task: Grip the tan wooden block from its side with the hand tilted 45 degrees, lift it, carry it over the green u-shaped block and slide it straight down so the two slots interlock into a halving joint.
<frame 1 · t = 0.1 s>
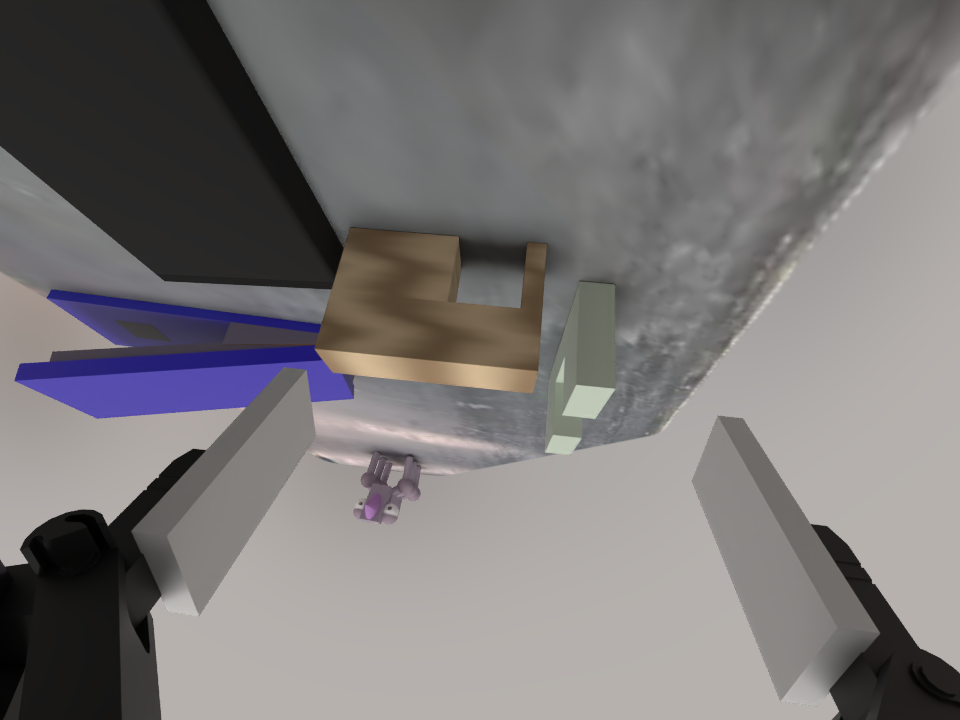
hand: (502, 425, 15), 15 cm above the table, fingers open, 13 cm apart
toy sheep: (393, 453, 94), on the table
blue foot pedal: (223, 328, 49), on the table
green u-shaped block: (575, 340, 41), on the table
tan wooden block: (456, 253, 32), on the table
external hard drive: (152, 113, 25), on the table
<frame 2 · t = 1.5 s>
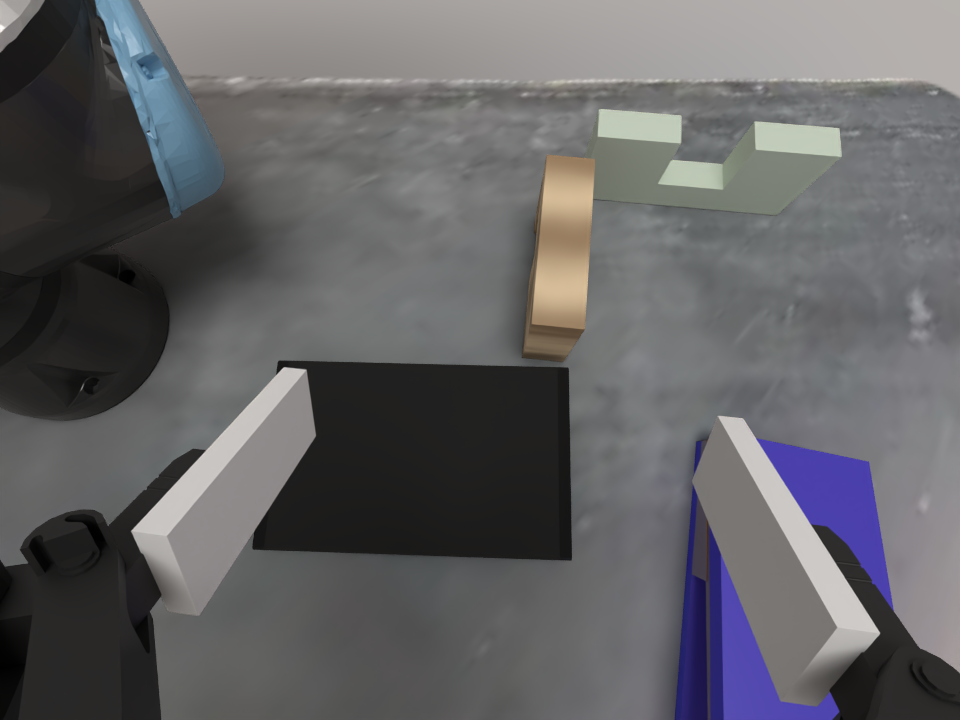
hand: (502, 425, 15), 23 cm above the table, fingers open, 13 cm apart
blue foot pedal: (748, 634, 35), on the table
green u-shaped block: (676, 194, 43), on the table
tan wooden block: (549, 283, 41), on the table
external hard drive: (422, 456, 38), on the table
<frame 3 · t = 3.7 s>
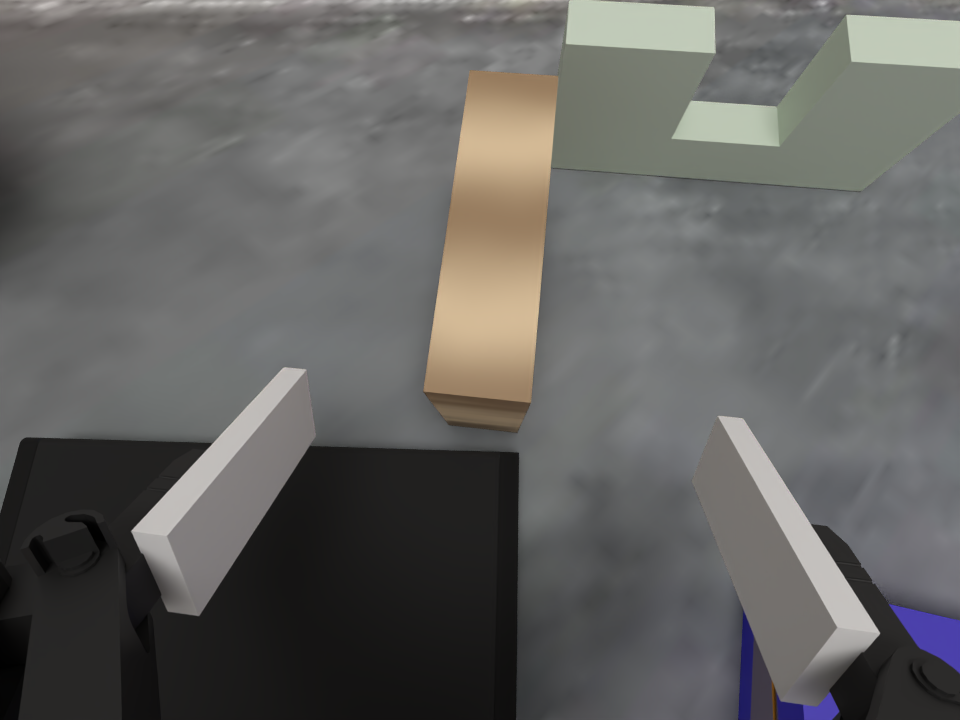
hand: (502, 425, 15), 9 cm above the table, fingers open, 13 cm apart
green u-shaped block: (700, 160, 27), on the table
tan wooden block: (496, 301, 25), on the table
external hard drive: (275, 598, 23), on the table
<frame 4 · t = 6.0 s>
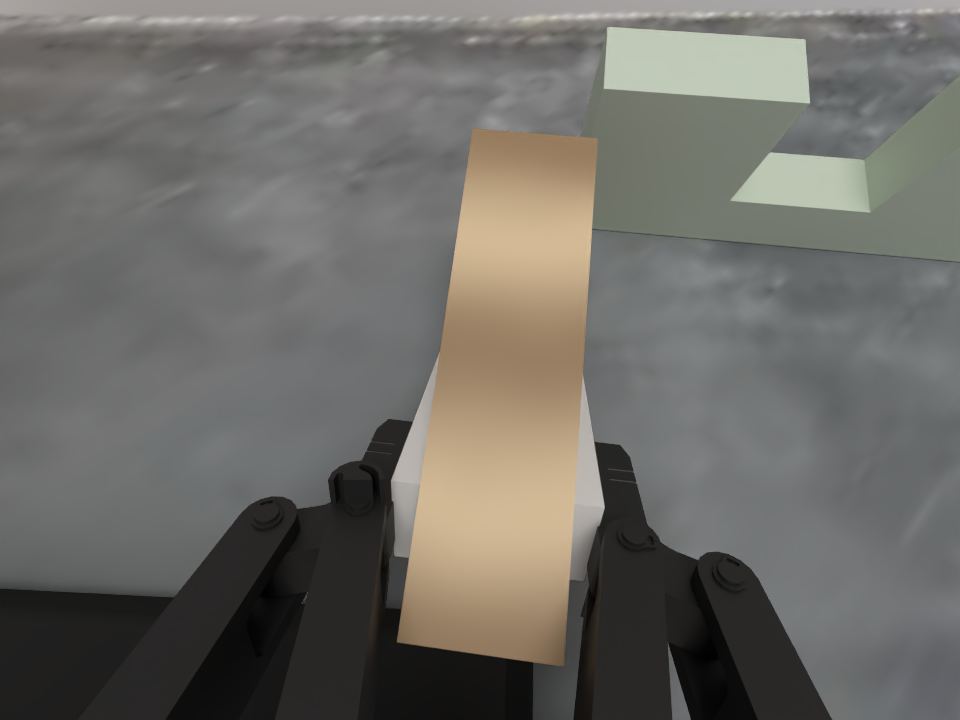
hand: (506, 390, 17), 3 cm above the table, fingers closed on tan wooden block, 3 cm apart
green u-shaped block: (758, 220, 22), on the table
tan wooden block: (505, 401, 20), on the table, touching gripper
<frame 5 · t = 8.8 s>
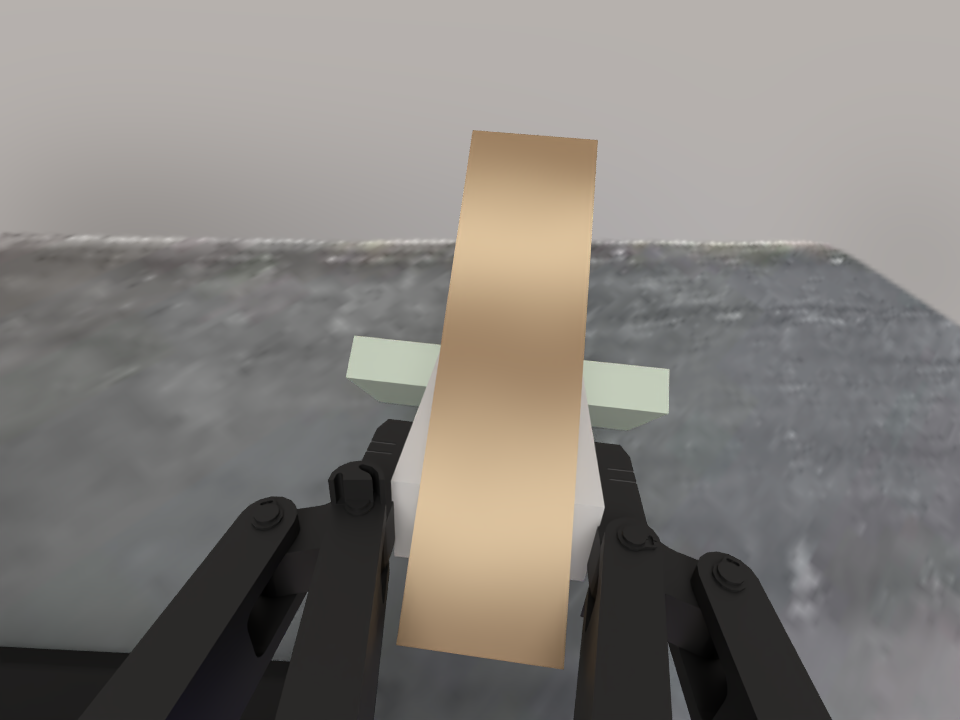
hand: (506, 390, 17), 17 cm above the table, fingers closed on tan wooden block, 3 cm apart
green u-shaped block: (503, 399, 34), on the table
tan wooden block: (505, 402, 20), point 14 cm above the table, touching gripper
when the fingers open (5 cm above the table, at t = 11.5 s): tan wooden block drops 2 cm, on the table.
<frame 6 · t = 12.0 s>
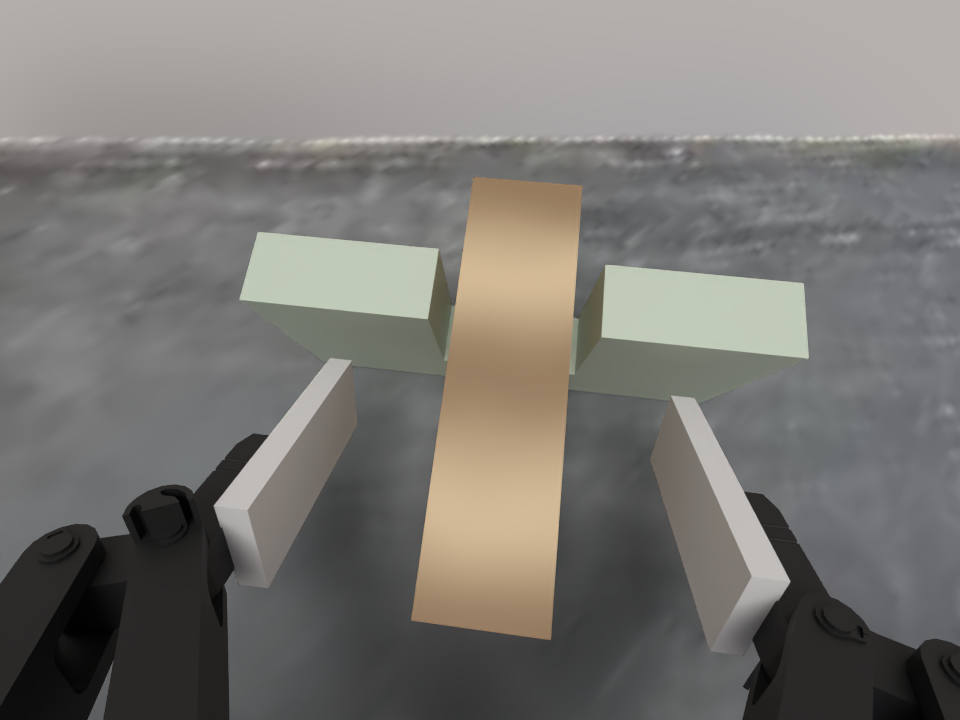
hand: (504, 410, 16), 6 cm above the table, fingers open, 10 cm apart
green u-shaped block: (509, 358, 23), on the table
tan wooden block: (503, 410, 22), on the table
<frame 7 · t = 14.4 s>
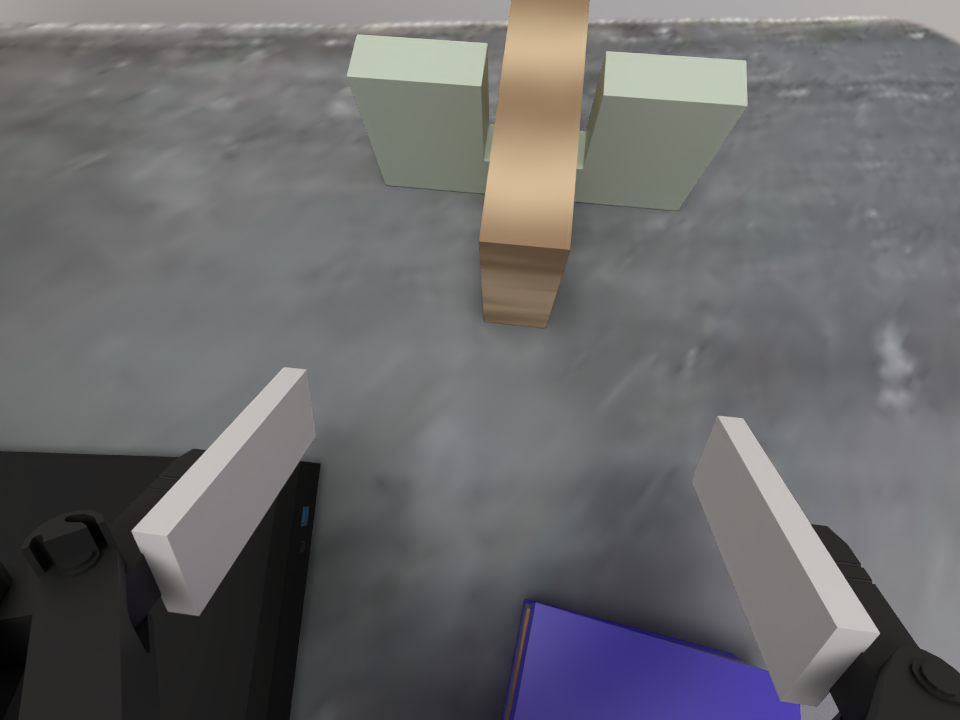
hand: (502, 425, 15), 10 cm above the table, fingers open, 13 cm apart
green u-shaped block: (531, 180, 29), on the table
tan wooden block: (526, 216, 28), on the table
external hard drive: (86, 598, 24), on the table
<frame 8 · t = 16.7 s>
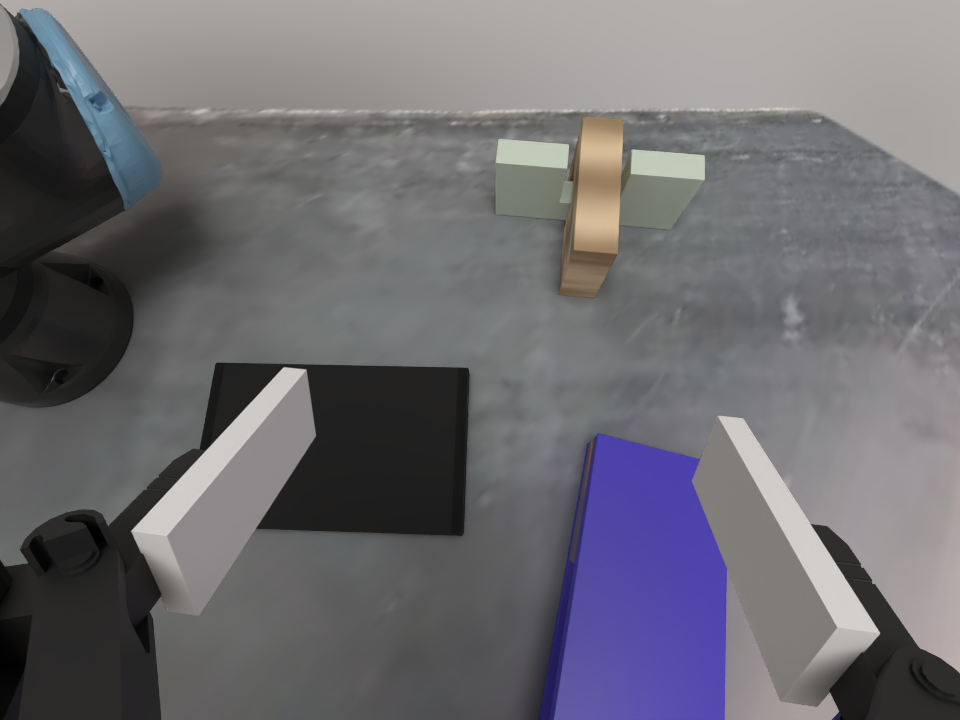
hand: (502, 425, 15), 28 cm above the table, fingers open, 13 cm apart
blue foot pedal: (619, 616, 39), on the table
green u-shaped block: (582, 211, 48), on the table
tan wooden block: (580, 233, 48), on the table
external hard drive: (343, 447, 43), on the table
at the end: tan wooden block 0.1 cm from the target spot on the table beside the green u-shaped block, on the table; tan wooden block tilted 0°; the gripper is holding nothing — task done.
